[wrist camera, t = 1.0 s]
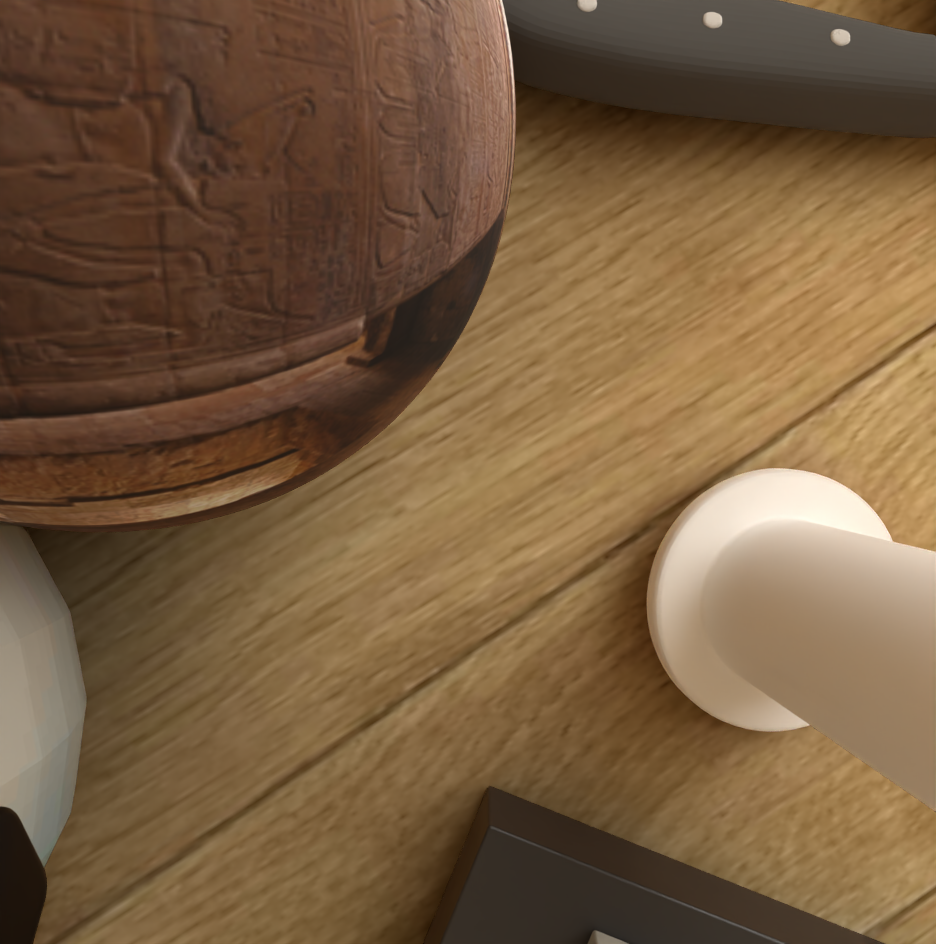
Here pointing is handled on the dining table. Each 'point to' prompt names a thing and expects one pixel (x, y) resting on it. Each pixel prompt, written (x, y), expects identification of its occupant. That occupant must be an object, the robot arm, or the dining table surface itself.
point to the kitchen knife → (730, 62)
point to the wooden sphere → (233, 240)
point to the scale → (598, 891)
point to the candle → (802, 619)
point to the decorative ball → (37, 693)
